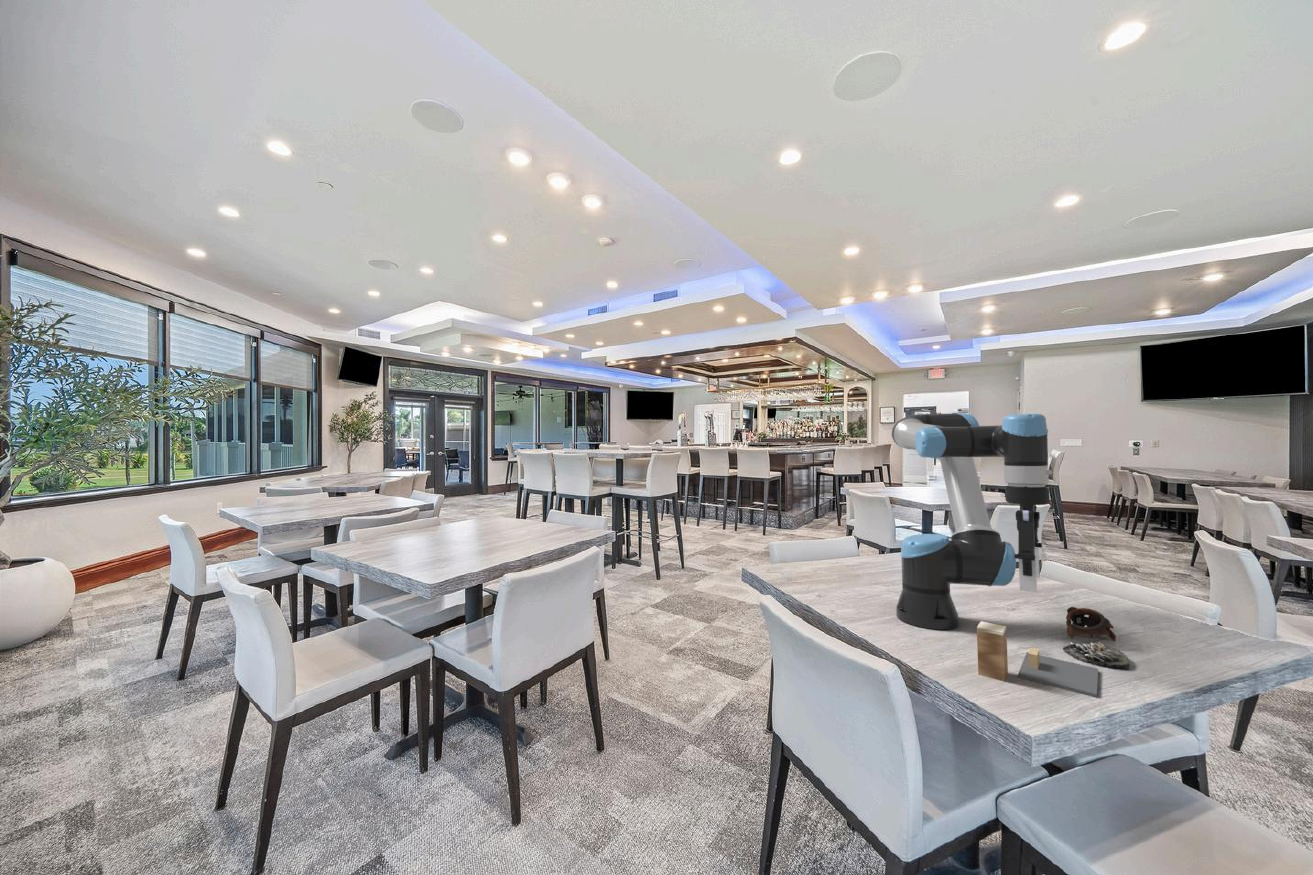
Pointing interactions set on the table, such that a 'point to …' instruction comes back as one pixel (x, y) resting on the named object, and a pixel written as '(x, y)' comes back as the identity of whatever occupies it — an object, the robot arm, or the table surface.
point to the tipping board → (1059, 673)
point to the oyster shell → (1098, 655)
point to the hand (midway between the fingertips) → (1030, 583)
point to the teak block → (992, 651)
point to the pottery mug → (1087, 624)
